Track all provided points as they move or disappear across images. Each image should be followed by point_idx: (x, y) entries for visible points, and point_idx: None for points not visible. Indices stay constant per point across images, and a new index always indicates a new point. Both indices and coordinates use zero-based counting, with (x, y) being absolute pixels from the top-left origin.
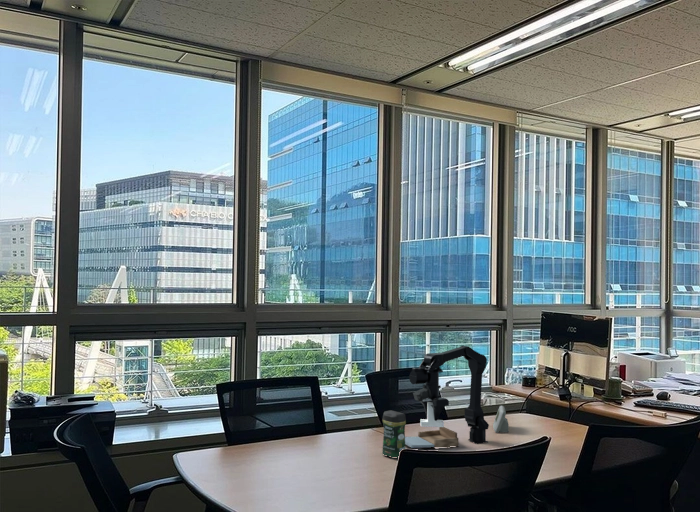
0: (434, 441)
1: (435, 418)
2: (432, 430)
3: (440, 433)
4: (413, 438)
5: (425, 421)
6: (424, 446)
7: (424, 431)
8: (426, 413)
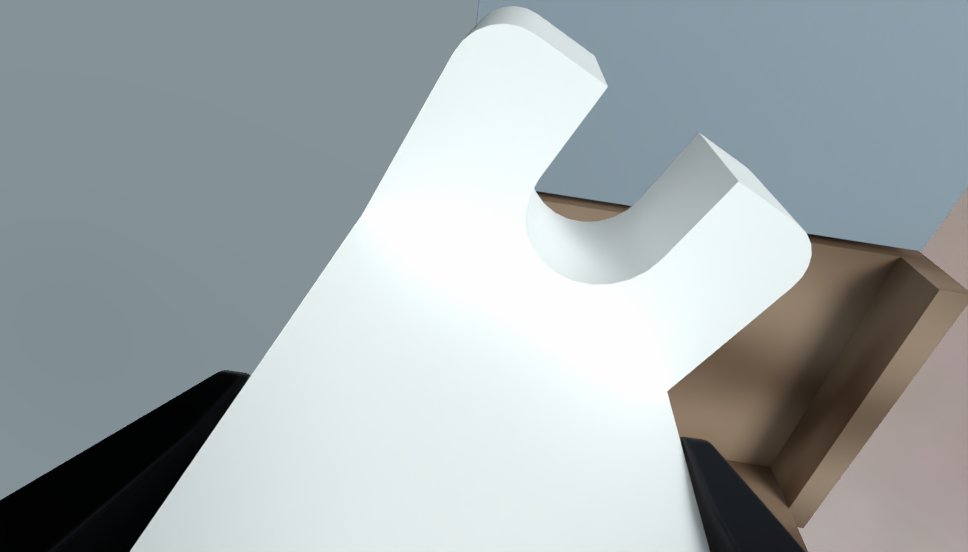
0: None
1: (165, 416)
2: (851, 461)
3: (753, 479)
4: (888, 106)
5: (456, 190)
6: (478, 14)
7: (904, 369)
8: (727, 535)
